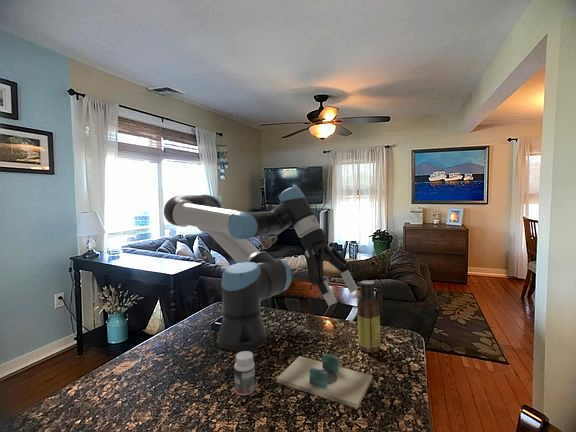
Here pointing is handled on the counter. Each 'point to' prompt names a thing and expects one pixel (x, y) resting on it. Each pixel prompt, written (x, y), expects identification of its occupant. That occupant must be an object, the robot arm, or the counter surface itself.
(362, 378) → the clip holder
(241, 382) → the pill bottle
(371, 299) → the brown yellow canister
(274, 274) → the robot arm
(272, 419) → the counter surface
